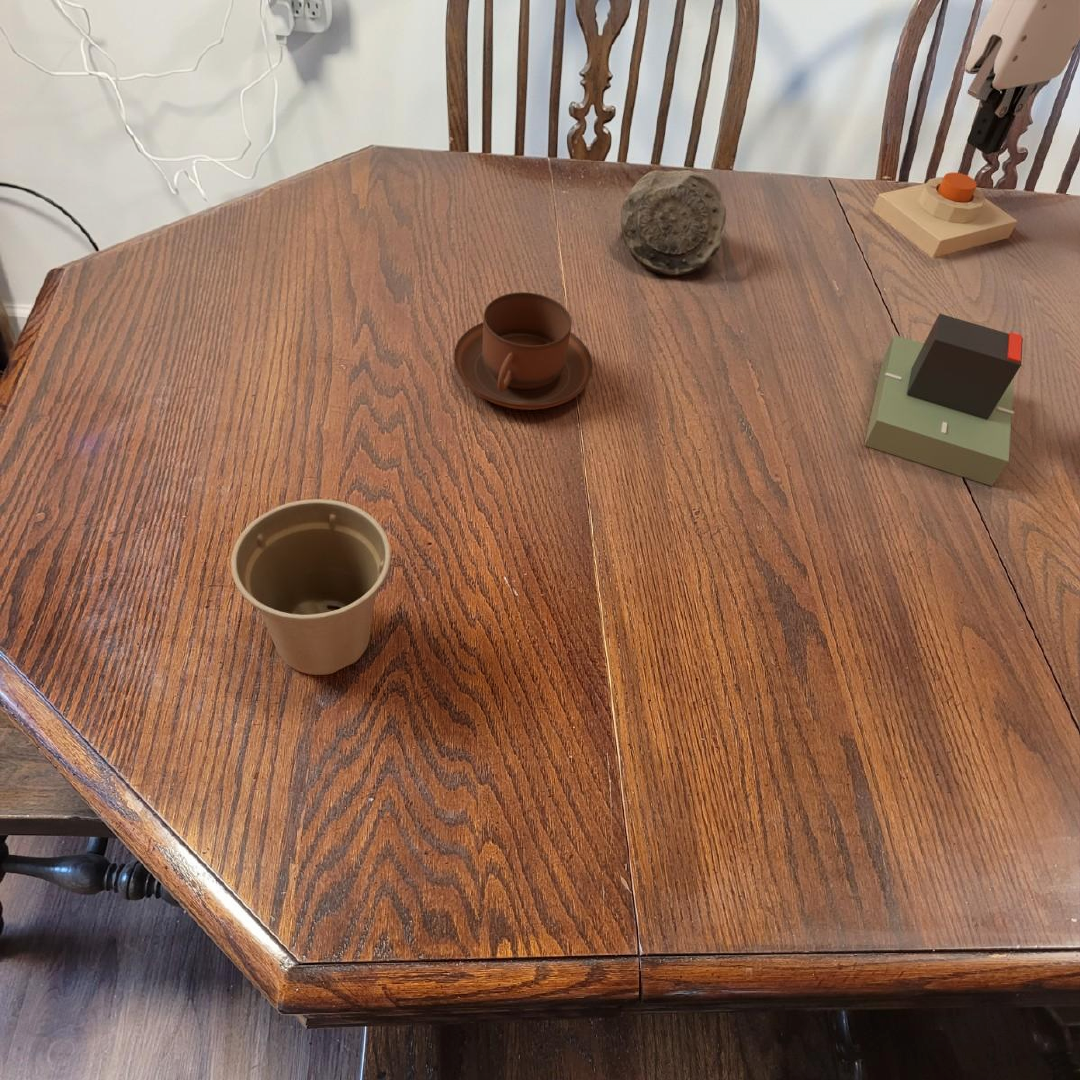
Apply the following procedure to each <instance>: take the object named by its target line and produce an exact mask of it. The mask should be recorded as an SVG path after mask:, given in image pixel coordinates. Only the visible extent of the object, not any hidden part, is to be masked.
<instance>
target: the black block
mask: <svg viewBox="0 0 1080 1080" xmlns="http://www.w3.org/2000/svg"><path fill="white" fill-rule="evenodd" d="M1023 342H1024V338H1023V335H1022V334H1018V333H1015V332H1012V331H1010V332H1009V333H1007V332H1005V331H1002V330H999V329H994V328H990V327H987V326H984V325H980V324H977V323H973V322H970V321H966V320H963V319H960V318H957V317H953V316H950V315H946V314H943V313H939V314H938V315H937V317H936V319H935V321H934V323H933V325H932V327H931V329H930V331H929V333H928V335H927V336H926V339H925V341H924V343H923V344H924V345H923V347H922V349H921V351H920V353H919V355H918V357H917V359H916V361H915V363H914V365H913V366H912V369H911V374H910V380H909V385H908V390H907V395H910V396H913V397H916V398H919V399H923V400H926V401H929V402H932V403H935V404H939V405H942V406H945V407H948V408H952V409H955V410H958V411H961V412H965V413H968V414H971V415H974V416H978V417H981V418H984V419H988V418H989V417H990V415H991V413H992V412H993V410H994V409H995V407H996V405H997V404H998V402H999V400H1000V399H1001V397H1002V396H1003V394H1004V392H1005V391H1006V389H1007V387H1008V386H1009V384H1010V383H1011V381H1012V379H1013V378H1014V379H1015V377H1016V374H1017V373H1018V371H1019V369H1020V368H1021V367H1022V360H1023V359H1022V358H1023Z"/></svg>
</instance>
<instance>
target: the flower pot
mask: <svg viewBox="0 0 1080 1080" xmlns="http://www.w3.org/2000/svg"><path fill="white" fill-rule="evenodd" d="M391 552H392V550H391V544H390V540H389V538H388V535H387V533H386V531H385V529H384V528H383V527H382V526H381V524H380V523H379V522H378V521H377V520H376V519H375V518H374V517H373V516H372V515H371V514H369V513H368V512H367V511H365V510H363V509H361V508H360V507H358V506H355V505H353V504H350V503H347V502H345V501H340V500H336V499H335V500H334V499H324V498H321V499H320V498H313V499H312V498H311V499H309V498H308V499H302V500H301V499H300V500H295V501H291V502H287V503H284V504H281V505H278V506H276V507H274V508H272V509H270V510H268V511H265V512H264V513H263V514H261V515H260V516H259V515H258V517H257V518H255V519H254V520H252V522H250V523H249V524H248V525H247V526H246V527H245V529H244V530H243V531H242V532H241V534H239V536H238V538H237V540H236V541H235V543H234V547H233V549H232V552H231V559H230V572H231V577H232V579H233V583H235V587H236V589H237V590H238V592H239V593H240V594H241V596H242V597H243V598H244V599H245V600H246V601H247V602H248V603H249V604H251V606H253V607H254V608H255V609H256V610H257V611H258V612H259V614H260V616H261V618H262V620H263V622H264V625H265V627H266V629H267V631H268V633H269V635H270V637H271V640H272V642H273V644H274V647H275V650H276V653H277V654H278V655H279V656H280V658H281V659H282V661H283V662H284V663H286V664H287V666H289V667H290V668H292V669H294V671H298V672H300V673H303V674H308V675H315V676H324V675H332V674H334V673H336V672H338V671H339V670H342V669H344V668H346V667H348V666H350V665H353V664H355V663H356V662H357V661H358V660H359V659H360V658H361V657H362V656H363V654H364V652H365V651H366V650H367V648H368V646H369V642H370V640H371V639H370V638H371V628H372V622H373V617H374V609H375V604H376V598H377V594H378V592H379V590H380V588H381V587H382V586H383V584H384V582H385V580H386V578H387V576H388V573H389V571H390V566H391V559H392V553H391ZM328 607H331V608H332V607H334V608H338V609H335V610H333V609H328Z"/></svg>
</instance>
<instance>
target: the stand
mask: <svg viewBox="0 0 1080 1080" xmlns="http://www.w3.org/2000/svg"><path fill="white" fill-rule="evenodd" d="M923 345H924V343H923V342H919V341H917V340H914V339H913V340H912V339H909V338H906V337H903V336H900V335H895V334H894V335H893V337H892V339H891V341H890V344H889V346H888V348H887V349H886V352H885V354H884V356H883V358H882V361H881V364H880V365H881V366H880V370H879V375H878V380H877V384H876V389H875V393H874V397H873V402H872V406H871V412H870V416H869V420H868V424H867V425H868V426H867V431H866V434H865V440H864V444H863V445H864V446H865V447H868V448H871V449H874V450H876V451H881V452H883V453H886V454H889V455H892V456H896V457H899V458H902V459H906V460H908V461H911V462H915V463H917V464H921V465H924V466H927V467H931V468H933V469H938V470H940V471H943V472H946V473H949V474H952V475H956V476H958V477H962V478H965V479H968V480H971V481H974V482H978V483H981V484H984V485H987V486H990V487H993V485H995V483H996V481H997V480H998V479H999V477H1000V476H1001V474H1002V472H1003V471H1004V469H1005V468H1006V467H1007V465H1008V463H1009V461H1010V448H1011V434H1012V433H1011V432H1012V416H1014V414H1015V411H1014V410H1013V398H1014V384H1015V383H1014V382H1015V381H1014V379H1015V377H1014V378H1013V379H1012V381H1011V383H1010V384H1009V386H1008V387H1007V389H1006V391H1005V392H1004V394H1003V396H1002V397H1001V399H1000V400H999V402H998V404H997V405H996V407H995V409H994V410H993V412H992V413H991V415H990V417H989V418H988V419H984V418H981V417H978V416H974V415H971V414H968V413H965V412H961V411H958V410H955V409H952V408H948V407H945V406H942V405H939V404H935V403H932V402H929V401H926V400H923V399H919V398H916V397H913V396H910V395H907V390H908V385H909V380H910V374H911V369H912V366H913V365H914V363H915V361H916V359H917V357H918V355H919V353H920V351H921V349H922V347H923Z"/></svg>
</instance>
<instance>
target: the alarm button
mask: <svg viewBox="0 0 1080 1080" xmlns="http://www.w3.org/2000/svg"><path fill="white" fill-rule="evenodd" d="M943 177H944V178H943V180H942V182H941V184H940V186H939V189H938V194H940V195H941V196H943V197H944V198H946V199H948V200H951V201H954V202H960V203H967V202H969V201H970V199H971V197H972V195H973V193H974V191H975V189H977V186H978V184H977V181H976V180H975V179H974V178H972V177H971V176H969V175H967V174H963V173H961V172H947V173H945V174H944V175H943Z"/></svg>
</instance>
